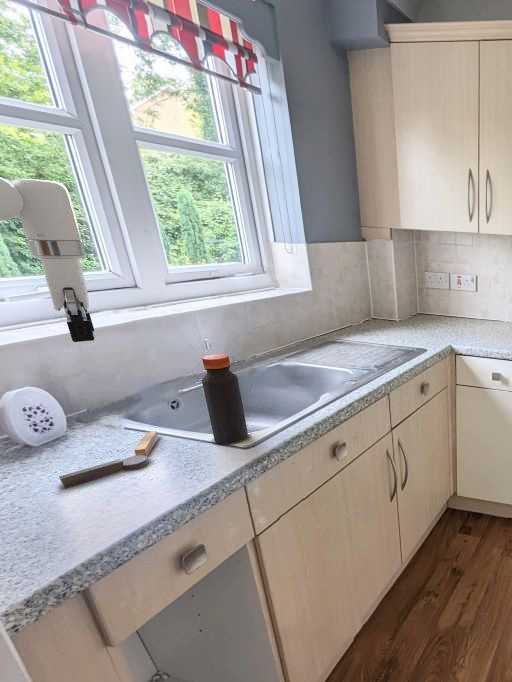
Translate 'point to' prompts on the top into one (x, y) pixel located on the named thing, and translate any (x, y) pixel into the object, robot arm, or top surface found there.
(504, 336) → the top surface
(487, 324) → the top surface
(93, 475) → the spoon
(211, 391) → the bottle
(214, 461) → the top surface
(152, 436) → the wooden bar
